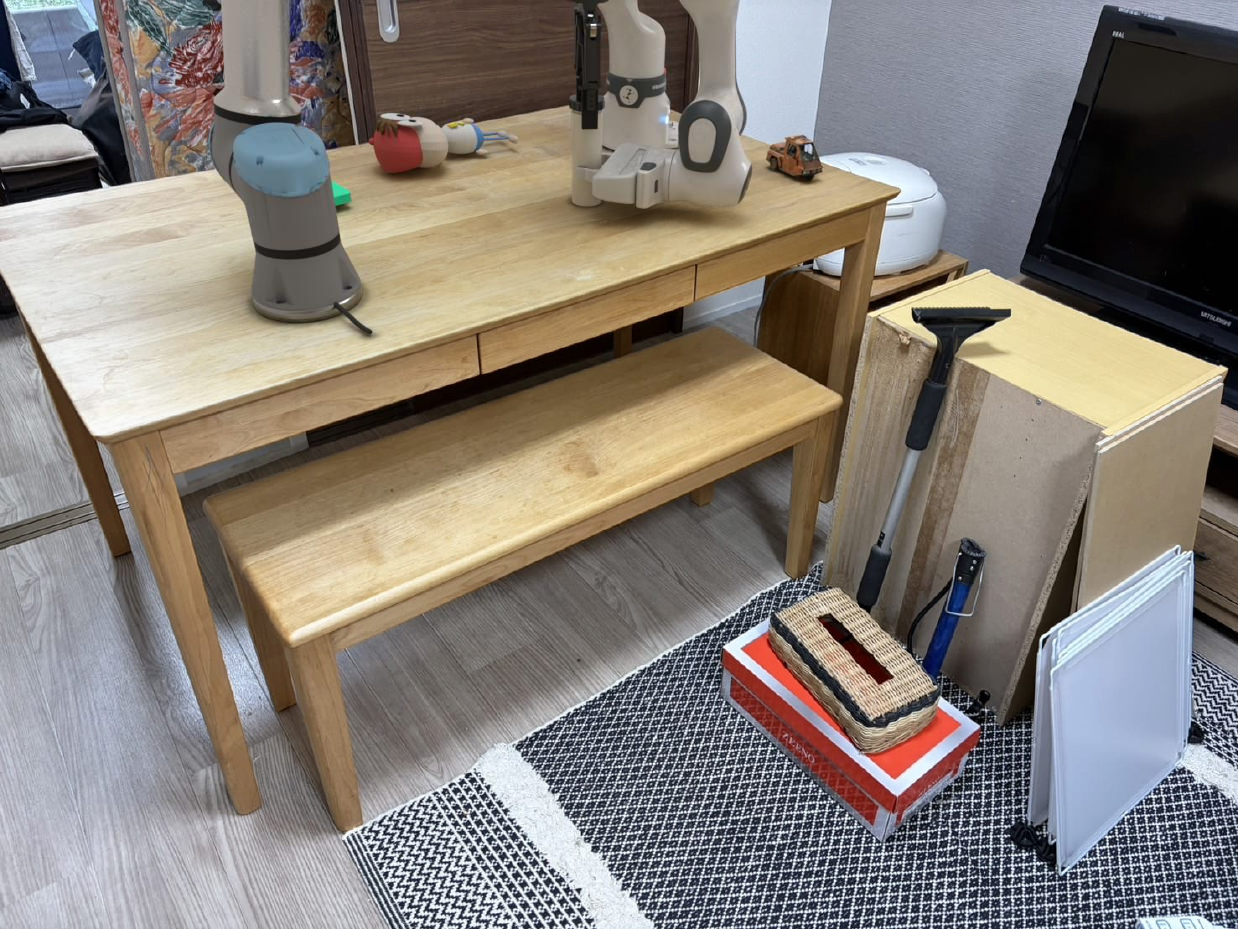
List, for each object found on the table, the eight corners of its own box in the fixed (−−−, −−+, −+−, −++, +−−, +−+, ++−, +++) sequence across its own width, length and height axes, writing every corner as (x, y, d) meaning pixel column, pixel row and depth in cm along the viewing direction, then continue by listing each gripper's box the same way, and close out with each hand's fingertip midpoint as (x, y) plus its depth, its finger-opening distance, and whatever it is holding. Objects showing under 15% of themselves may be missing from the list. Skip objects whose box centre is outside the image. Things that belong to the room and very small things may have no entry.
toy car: (782, 160, 188) (786, 126, 183) (827, 178, 180) (833, 142, 176) (760, 167, 184) (764, 131, 180) (805, 184, 177) (810, 148, 173)
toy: (535, 119, 180) (386, 123, 165) (533, 173, 185) (388, 181, 170) (493, 104, 193) (352, 106, 178) (493, 155, 198) (355, 160, 183)
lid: (600, 101, 161) (600, 92, 160) (608, 111, 156) (608, 102, 155) (566, 102, 160) (566, 93, 159) (573, 113, 155) (572, 103, 154)
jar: (581, 193, 171) (581, 96, 161) (606, 199, 169) (608, 101, 159) (566, 202, 167) (565, 103, 157) (591, 208, 165) (592, 108, 155)
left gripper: (556, -38, 153) (558, 107, 167) (571, -16, 138) (572, 140, 152) (601, -38, 154) (599, 106, 168) (621, -17, 139) (617, 139, 153)
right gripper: (671, 138, 168) (598, 130, 170) (644, 175, 152) (564, 166, 155) (669, 172, 172) (597, 164, 174) (642, 212, 156) (564, 202, 158)
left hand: (586, 122), depth 160 cm, fingers closed on lid, 6 cm apart
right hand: (581, 165), depth 164 cm, fingers closed on jar, 5 cm apart
